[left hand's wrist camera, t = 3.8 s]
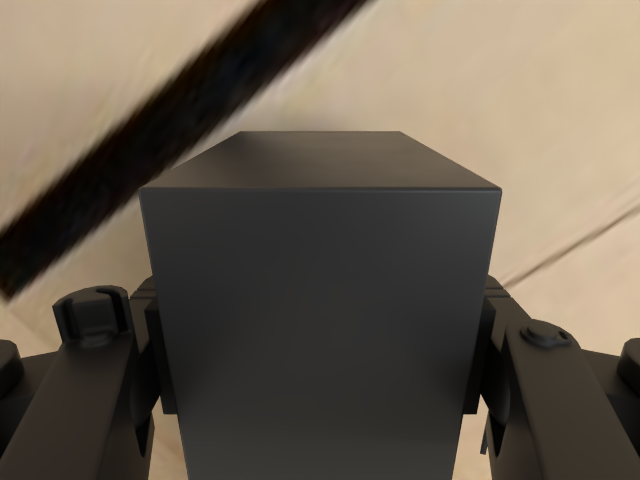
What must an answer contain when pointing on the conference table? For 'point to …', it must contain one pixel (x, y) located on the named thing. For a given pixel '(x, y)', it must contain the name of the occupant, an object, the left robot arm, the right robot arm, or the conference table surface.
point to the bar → (320, 303)
